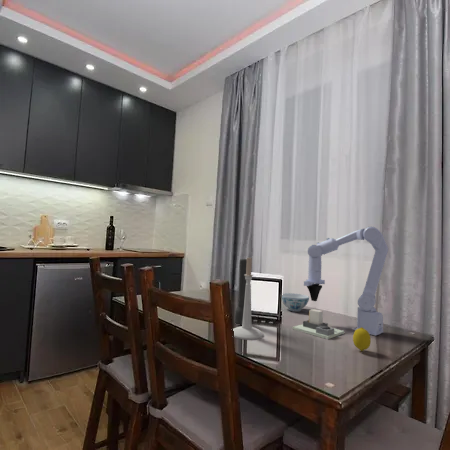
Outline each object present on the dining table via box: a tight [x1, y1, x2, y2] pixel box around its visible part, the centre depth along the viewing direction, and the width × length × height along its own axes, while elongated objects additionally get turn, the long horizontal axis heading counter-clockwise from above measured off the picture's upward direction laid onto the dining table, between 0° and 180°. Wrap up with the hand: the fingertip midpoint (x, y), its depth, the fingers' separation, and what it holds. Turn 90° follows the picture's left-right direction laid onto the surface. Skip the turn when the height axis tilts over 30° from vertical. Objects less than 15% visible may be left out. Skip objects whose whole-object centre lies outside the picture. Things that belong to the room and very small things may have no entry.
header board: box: [292, 319, 345, 340], centre depth 128 cm, size 16×13×3 cm
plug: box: [308, 308, 324, 325], centre depth 130 cm, size 5×3×7 cm, turn 42°
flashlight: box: [234, 258, 247, 326], centre depth 136 cm, size 7×28×7 cm
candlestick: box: [232, 257, 264, 341], centre depth 120 cm, size 13×13×30 cm
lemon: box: [352, 327, 372, 352], centre depth 106 cm, size 6×6×8 cm
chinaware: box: [281, 292, 310, 312], centre depth 168 cm, size 15×15×8 cm
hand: (314, 300), depth 142 cm, fingers closed
